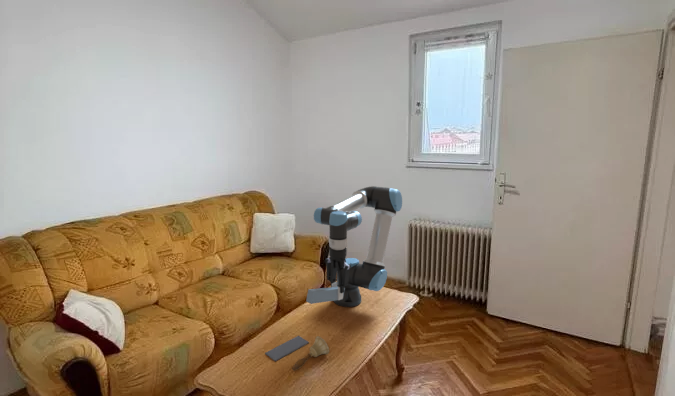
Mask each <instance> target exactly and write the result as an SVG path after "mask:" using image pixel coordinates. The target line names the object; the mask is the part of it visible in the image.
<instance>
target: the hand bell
mask: <svg viewBox="0 0 675 396" xmlns="http://www.w3.org/2000/svg"><path fill="white" fill-rule="evenodd" d="M329 353H330V348H329V345H328V343H327V342H326V340H325V339H324V338H322V337H321V336H319V335H318V336H315V338H314V342H313V344H312V345H311V346H310V347H309V353H307V354H306V355H305V356H304V357H302V358H300V359H298V360H297V361H295V364H293V366H292V367H291V369H292V371H297V370H299V369H301V368H302V367H303V366H304V365H305V364H306V362H307V361H308V360H309V359H310V358H312V357H314V358H317V357H319V356H320V355H328V354H329Z"/></svg>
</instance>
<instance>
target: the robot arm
mask: <svg viewBox="0 0 675 396" xmlns="http://www.w3.org/2000/svg"><path fill="white" fill-rule="evenodd" d="M402 206H403V196H402V192H401V191H400V190H399V189H397V188H392V187H382V186H373V185H371V186H367V187H364V188H360V189H358V190H356V191H353V193H352V194H351V195H350V196H348V197H346V198H344V199H341V200H339V201H337V202H336V203H333V204H331V205H330V206H327V207H325V208H324V207H317V208H316V209H315V210H314V212H313V221H314V222H315V223H316V224H320V225H326V226H329V228H328V229H329V236H328V238H329V239H328V241H329V242H328V243H329V244H328V245H329V246H328V247H329V249H328V256H329V257H328V258H324V261H325V265H326V267H325V268H326V269H325V270H326V280H327V281H329V283H330V287H338V300H335V301H333V302H334V303H335V305H337V306H340V307H342V308H343V307H345V308H350V307H351V308H352V307H356V306H359V305H360V304H361V303H362V294H361V292H360V288H362V289H366V290H369V291H373V292H379V291H381V290H382V289H383V287H384V286H385V285H386V282H387V278H388V271H387V269H385V267H386V265H385V263H384V258H385V253H386V248H387V244H388V239H389V235H390V229H391V226H392V219H393V218H394V217H395V216H396V215H397V213H398V212H400V211H401V209H402ZM366 207H367V208H373V211H374V212H375V219H374V223H373V229H372V231H371V235H370V241H369V246H368V249H367V255H366V258H365V259H363V260H362V263H360V260H359V259H358V258H356V257H347V251H348V249H347V246H348V245H347V244H348V243H347V240H348V238H347V237H348V236H347V235H348V232H349V231H350V230H353V229H356V228H357V227H359V226H360V225H361V224H362V222H363V217H362V215H361V213H360V212H359V211H357V210H358V209H363V208H366ZM346 257H347V258H346ZM344 288H345V290H344ZM343 293H344V296H343ZM341 299H342V300H341Z"/></svg>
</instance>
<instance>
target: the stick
mask: <svg viewBox="0 0 675 396" xmlns="http://www.w3.org/2000/svg"><path fill="white" fill-rule="evenodd" d="M344 290H345V288H344ZM343 296H344V293H343ZM335 300H338V287H331V286H330V287H322V288H321V287H320V288H318V287H317V288H310V289H309V288H308V289H307V294H306V301H305V302H307V303H309V304H310V305H312V304H319V303H320V304H321V303H326V302H327V303H328V302H334V301H335ZM341 300H342V299H341Z"/></svg>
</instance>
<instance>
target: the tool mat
mask: <svg viewBox="0 0 675 396" xmlns="http://www.w3.org/2000/svg"><path fill="white" fill-rule="evenodd" d="M309 344H310V341H308V340H307V339H305V338H303V337H301V335H297V336H295V337H293V338H291V339H289V340H287V341H285V342H284V343H281V344H280V345H278V346H276V347H275V346H274V348H272V349H270V350H268V351H266V352H265V353H264V354H265V355H266V356H267V357H268V356H269V357H268V358H270V359H271V360H272V361H273V362H277V361H279V360H281V359H283V358H285V357H286V356H289V355H291V354H292V353H294V352H296V351H297V350H299V349H301V348H303V347H305V346H307V345H309Z"/></svg>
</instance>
